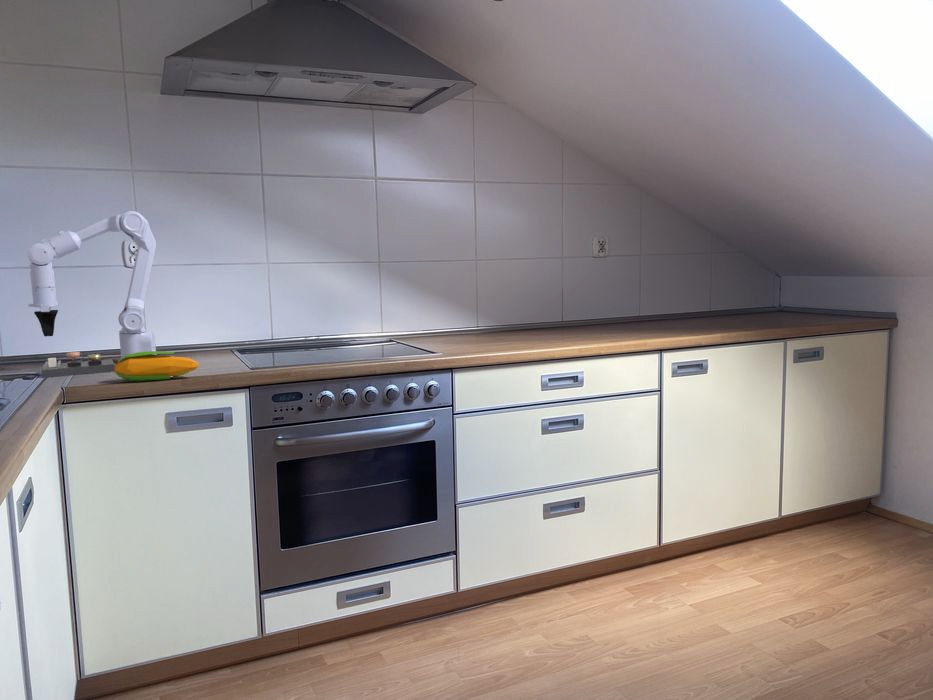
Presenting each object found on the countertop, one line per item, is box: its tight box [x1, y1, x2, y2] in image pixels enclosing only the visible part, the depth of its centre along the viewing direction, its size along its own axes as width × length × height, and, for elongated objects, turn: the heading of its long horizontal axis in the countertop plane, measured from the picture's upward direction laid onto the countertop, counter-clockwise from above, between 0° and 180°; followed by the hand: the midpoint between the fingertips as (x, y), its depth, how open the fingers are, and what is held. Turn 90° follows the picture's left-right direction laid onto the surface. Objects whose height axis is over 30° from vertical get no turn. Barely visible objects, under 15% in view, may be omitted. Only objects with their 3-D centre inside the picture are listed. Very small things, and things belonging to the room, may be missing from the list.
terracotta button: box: [65, 351, 81, 361], centre depth 189 cm, size 3×3×2 cm
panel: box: [41, 358, 115, 379], centre depth 190 cm, size 17×11×3 cm, turn 119°
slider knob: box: [47, 357, 58, 367], centre depth 185 cm, size 2×2×2 cm
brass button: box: [87, 353, 102, 361], centre depth 192 cm, size 3×3×2 cm
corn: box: [114, 350, 200, 382], centre depth 176 cm, size 7×8×20 cm
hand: (48, 336), depth 195 cm, fingers closed
